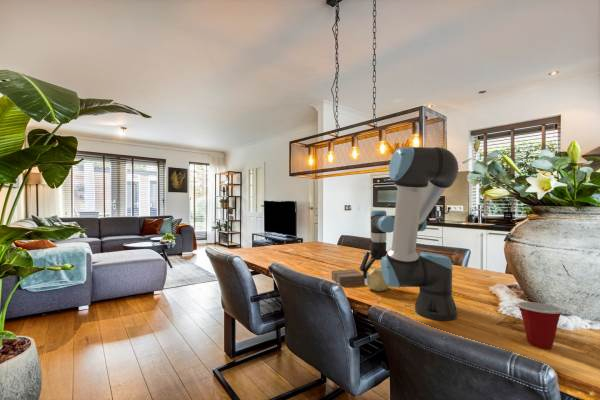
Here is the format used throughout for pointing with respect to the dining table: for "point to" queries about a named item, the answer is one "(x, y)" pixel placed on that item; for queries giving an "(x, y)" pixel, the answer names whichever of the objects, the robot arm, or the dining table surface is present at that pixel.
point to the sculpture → (377, 280)
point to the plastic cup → (540, 323)
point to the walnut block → (348, 277)
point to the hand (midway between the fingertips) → (378, 284)
